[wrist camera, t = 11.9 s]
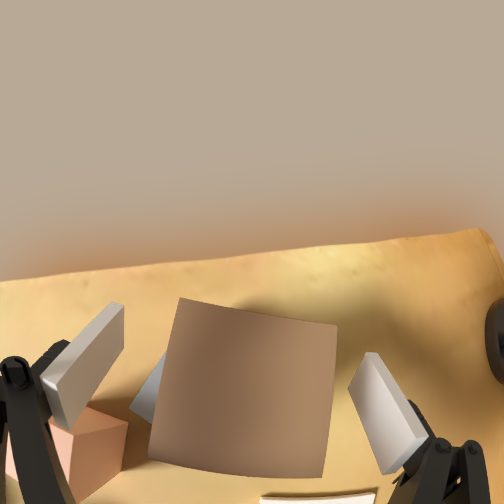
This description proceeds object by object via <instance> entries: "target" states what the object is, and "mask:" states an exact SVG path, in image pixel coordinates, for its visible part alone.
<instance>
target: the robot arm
mask: <svg viewBox="0 0 504 504" xmlns="http://www.w3.org/2000/svg"><path fill="white" fill-rule="evenodd" d="M485 341H486V350H487V355H488V359H489V363H490V366H491V369H492V371H493V373H494V375H495V377H496V378H497V380H498V381H499V382H500V383H502V384H504V298H502V299H500V300H498V301H497V302H495V303H493V304H492V305H491V307H490V309H489V311H488V314H487V318H486V325H485ZM123 348H124V305H121V304H118V303H114V302H111V303H110V304H109V305H107V306H106V307H105V308H104V309H103V310H102V311H101V312H100V313H99V314H98V315H97V316H96V317H95V318H94V319H93V320H92V321H91V322H90V323H89V324H88V325H87V326H86V327H85V328H84V329H83V330H82V331H81V332H80V333H79V334H78V336H77V337H76V338H75V339H74V340H73V341H72V342H68V341H66V340H64V339H63V340H61V341H59V342H56V343H54V344H53V345H52V346H51V347H50V348H49V349H48V351H46V352H45V353H44V354H43V356H41V357H40V358H39V359H38V360H37V361H36V362H35V363H34V364H33V365H32V366H31V367H29V364H28V362H27V361H26V360H25V359H24V358H22V357H19V356H11V357H7V358H6V359H4V360H3V361H2V362H1V363H0V371H1V374H2V376H0V504H6V496H5V471H6V453H7V442H8V433H9V436H10V443H11V449H12V455H13V460H14V465H15V469H16V473H17V478H18V482H19V485H20V489H21V493H22V496H23V499H24V502H25V504H76V502H75V499H74V497H73V495H72V492H71V490H70V487H69V485H68V482H67V480H66V477H65V474H64V471H63V469H62V466H61V463H60V460H59V457H58V453H57V450H56V447H55V443H54V440H53V436H52V432H51V428H50V424H49V422H48V420H49V419H50V417H51V416H53V419H54V421H55V423H56V424H58V425H60V426H62V427H64V428H66V429H68V430H70V431H71V429H72V428H73V426H74V424H75V423H76V421H77V419H78V418H79V416H80V414H81V413H82V411H83V410H84V408H85V406H86V405H87V403H88V402H89V400H90V398H91V397H92V395H93V394H94V392H95V391H96V389H97V388H98V386H99V384H100V383H101V381H102V380H103V378H104V377H105V375H106V374H107V372H108V371H109V369H110V368H111V366H112V365H113V363H114V362H115V360H116V359H117V357H118V356H119V354H120V353H121V351H122V350H123ZM348 390H349V393H350V395H351V398H352V400H353V402H354V405H355V407H356V410H357V412H358V415H359V417H360V420H361V422H362V425H363V427H364V430H365V432H366V435H367V437H368V440H369V442H370V445H371V447H372V450H373V453H374V455H375V458H376V460H377V463H378V466H379V468H380V471H381V474H382V475H387V474H392V473H396V472H397V471H398V470H399V469H400V468H401V467H402V466H403V468H404V471H403V472H402V473H401V474H400V475H399V476H398V477H397V478H396V479H395V480H394V481H393V483H392V484H394V483H396V482H397V481H398V482H397V485H396V487H395V489H394V491H393V494H392V496H391V498H390V500H389V502H388V504H491V501H490V492H489V484H488V477H487V471H486V465H485V459H484V454H483V450H482V447H481V446H480V444H479V443H478V442H476V441H473V440H468V441H466V442H465V443H464V444H463V445H462V446H461V447H452V445H451V444H450V443H449V442H448V441H447V440H446V439H444V438H436V436H435V435H434V433H433V431H432V430H431V428H430V426H429V425H428V423H427V421H426V420H425V419H424V417H423V415H422V414H421V412H420V410H419V409H418V407H417V406H416V405H415V404H414V403H413V402H412V401H411V400H407V399H406V397H405V395H404V394H403V392H402V391H401V389H400V387H399V386H398V384H397V383H396V381H395V380H394V378H393V376H392V375H391V373H390V372H389V370H388V369H387V367H386V365H385V364H384V362H383V361H382V359H381V358H380V356H379V355H378V353H374V352H366V353H365V355H364V357H363V359H362V361H361V363H360V365H359V368H358V370H357V372H356V373H355V375H354V377H353V379H352V381H351V383H350V385H349V387H348ZM459 478H460V479H461V481H460V483H458V484H457V480H458V479H459Z"/></svg>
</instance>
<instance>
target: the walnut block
mask: <svg viewBox="0 0 504 504" xmlns="http://www.w3.org/2000/svg"><path fill="white" fill-rule="evenodd" d="M337 326H338V325H331V324H323V323H316V322H310V321H303V320H296V319H290V318H284V317H278V316H272V315H266V314H260V313H255V312H249V311H244V310H239V309H233V308H228V307H223V306H218V305H213V304H208V303H203V302H199V301H194V300H189V299H185V298H180V299H179V302H178V306H177V310H176V314H175V319H174V323H173V327H172V331H171V335H170V340H169V344H168V348H167V353H166V357H165V362H164V366H163V371H162V376H161V381H160V386H159V391H158V396H157V401H156V406H155V412H154V417H153V423H152V429H151V435H150V441H149V447H148V453H147V458H149V459H153V460H157V461H160V462H164V463H168V464H173V465H177V466H182V467H186V468H191V469H197V470H202V471H208V472H215V473H221V474H229V475H238V476H248V477H262V478H322V474H323V468H324V462H325V456H326V449H327V442H328V435H329V427H330V419H331V410H332V401H333V390H334V378H335V365H336V348H337Z"/></svg>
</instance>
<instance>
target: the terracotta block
mask: <svg viewBox="0 0 504 504" xmlns="http://www.w3.org/2000/svg"><path fill="white" fill-rule="evenodd" d="M48 422H49V424H50V428H51V432H52V436H53V440H54V443H55V447H56V450H57V453H58V457H59V460H60V463H61V466H62V469H63V471H64V474H65V477H66V480H67V482H68V485H69V487H70V490H71V492H72V495H73V497H74V499H75V502H76V504H78V503H80V502H81V501H83V500H84V499H85V498H87V497H88V496H90V495H91V494H92V493H94V492H95V491H96V490H98V489H99V488H100V487H102V486H103V485H104V484H106V483H107V482H108V481H109V480H111V479H112V478H113V477H115V476H116V475H117V474H118V473H120V472H121V466H122V459H123V453H124V447H125V441H126V435H127V429H128V424H129V422H126V421H123V420H120V419H118V418H115V417H112V416H109V415H107V414H104V413H102V412H99V411H97V410H94V409H92V408H89V407H87V406H85V408H84V410H83V411H82V413H81V414H80V416H79V418H78V419H77V421H76V423H75V424H74V426H73V428H72V429H71V431H70V430H68V429H66V428H64V427H62V426H60V425H58V424H56V423H55V421H54V419H53V416H51V417H50V419H49V420H48ZM5 473H7V474H8V475H9V476H11V477H12V478H14V479H15V480H16V481H18V478H17V473H16V469H15V465H14V460H13V455H12V449H11V443H10V436H9V433H8V442H7V453H6V471H5Z"/></svg>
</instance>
